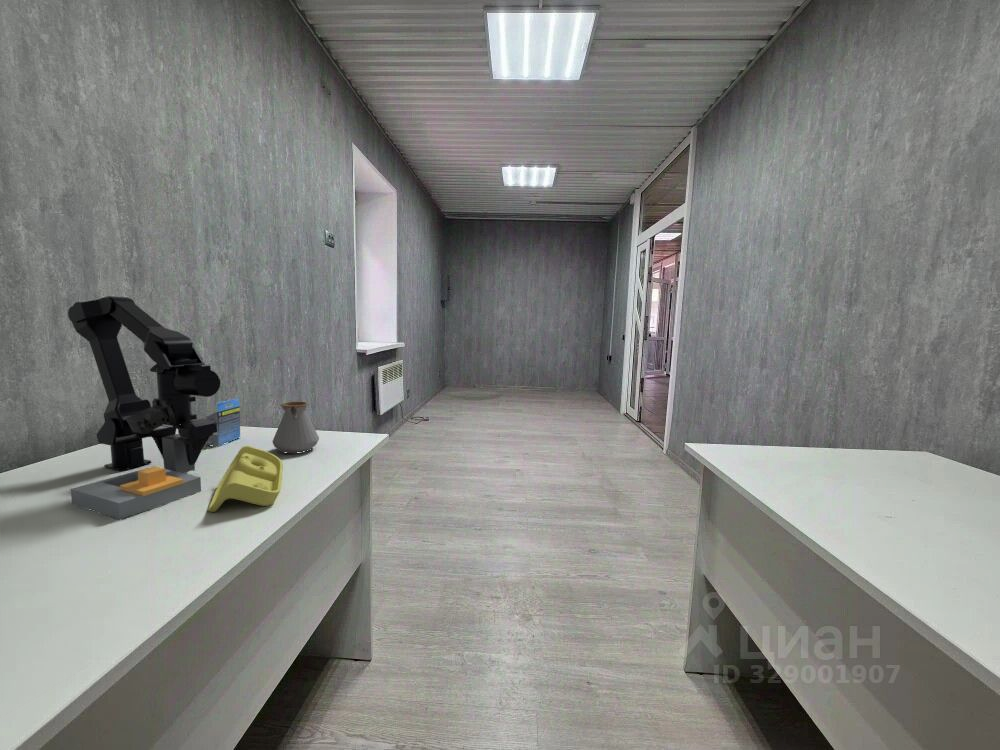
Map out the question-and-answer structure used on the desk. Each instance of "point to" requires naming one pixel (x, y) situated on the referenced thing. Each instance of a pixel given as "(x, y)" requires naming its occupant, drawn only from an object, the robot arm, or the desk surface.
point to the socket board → (130, 494)
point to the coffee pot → (295, 429)
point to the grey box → (175, 455)
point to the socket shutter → (151, 481)
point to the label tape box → (225, 422)
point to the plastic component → (250, 479)
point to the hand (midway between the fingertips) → (179, 461)
